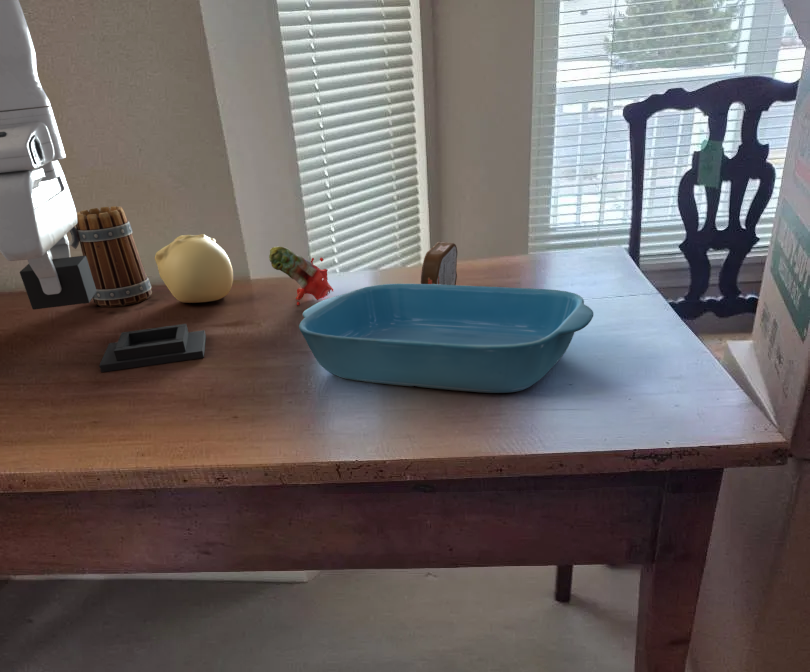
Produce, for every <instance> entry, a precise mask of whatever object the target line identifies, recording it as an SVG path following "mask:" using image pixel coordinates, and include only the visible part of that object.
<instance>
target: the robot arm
mask: <svg viewBox="0 0 810 672" xmlns="http://www.w3.org/2000/svg"><path fill="white" fill-rule="evenodd" d="M37 68H38V67H37V54H36V50H35V45H34V42H33V39H32V36H31V33H30V29H29V26H28V23H27V20H26V17H25V14H24V10H23V8H22V5H21V3H20V0H0V254H1V255H2V256H3V258H5V259H6V261H8V262H17V261H26V260H27V262H28V264H29V265H30V266H31V268H32V269H33V271H34V272H35V274H36V275H37V277H38V278H39V281H40V284H41V286H42V289H43V292H44V293H45V294H47V295H51V294H58V293H60V292H61V291H62V289H63V285H62V282H61V278H60V275H59V273H57V272H56V269H55V267H54V264H53V262H52V259H59V258H67V257H72V256H71V249H70V247H71V246H70V245H69V243H70V241H69V238H68V235H67V234H68V233H70V230H71V229H72V228H73V227H76V224H77V223H78V220H77V213H76V212H77V209H76V206H75V202H74V200H73V197H72V194H71V191H70V187H69V184H68V182H67V179H66V176H65V173H64V171H63V168H62V165H61V163H60V161H61V160H64V159H66V158H67V155H66V152H65V151H66V150H65V148H64V144H63V142H62V137H61V135H60V132H59V131H60V130H59V128H58V124H57V121H56V118H55V115H54V111H53V110H54V109H53V107H52V104H51V101H50V98H49V97H48V95H47V94H46V92H45V90H44V88H43V86H42V84H41V81H40V78H39V75H38V69H37Z"/></svg>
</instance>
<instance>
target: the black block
mask: <svg viewBox="0 0 810 672" xmlns="http://www.w3.org/2000/svg"><path fill="white" fill-rule="evenodd" d="M52 262H53V264H54V267H55V269H56V272H57V273H59V275H60V278H61V282H62V285H63V289H62V291H61V292H60V293H58V294H51V295H47V294H45V293H44V292H43V289H42V286H41V284H40V281H39V278H38V277H37V275H36V274H35V272H34V271H33V269H32V268H31V266H30V265H29V263H28V264H26V266H24V267H23V268H22V269H21V270H20V271H19V275H20V278H21V281H22V283H23V286H24V289H25V292H26V294H27V297H28V298H27V299H28V300H29V303H30V306H31V309H32V310H33V311H34V310H41V309H50V308H57V307H58V308H59V307H67V306H74V305H82V304H84V303H86V304H89V303H90V302H91V301H92V300H93V296H94V295H95V293H96V292H97V291H96V287H95V284H94V281H93V277H92V274H91V271H90V267H89V264H88V261H87V257H86V256H83V255H78V256H71V257H67V258H59V259H52ZM91 299H92V300H91ZM84 305H85V304H84Z"/></svg>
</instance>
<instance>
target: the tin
mask: <svg viewBox="0 0 810 672" xmlns="http://www.w3.org/2000/svg"><path fill="white" fill-rule="evenodd" d="M457 260H458V247H457V245H456V244H455V243H454V242H447V241H441V240H439V241H438V242H436V243H435V244H434V245H433V246H432V247H431V248H429V250H428V251H426V253H425V255H424V258H423V262H422V267H421V273H420V284H439V285H457V279H458V278H457V277H458V273H457V266H458V265H457V264H458V263H457V262H458V261H457Z"/></svg>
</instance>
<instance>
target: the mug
mask: <svg viewBox="0 0 810 672" xmlns="http://www.w3.org/2000/svg"><path fill="white" fill-rule="evenodd" d="M76 213H77V220H78V223H77V224H76V225H75V226H74V227H73V228H72V229H71V230H70V231H69V233H70V236H71V239H70V241H69V246H70V247H71V248H73V249H75V250H77V248H78V247H79V245H80V248H81V253H82V254H81V255H82V256H86V257H87V261H88V264H89V267H90V271H91V274H92V277H93V281H94V284H95V287H96V291H97V292H96V293H95V295H94V296H93V298H92V299H91V301H92V300H93V301H92V302H93V303H94V304H96V305H97V306H99V307H102V308H117V307H125V306H130V305H134V304H138V303H141V302H143V301H146V300H147V299H149V298H150V297H151V295H152V293H153V291H152V284H151V282H150V279H149V276H148V275H147V273H146V270H145V267H144V265H143V262H142V257H141V255H140V252H139V250H138V247H137V243H136V241H135V238H134V235H133V229H132V225H131V223H130V221H129V220H128V217H127V215H126V212H125V210H124V209H123V206H117V205H113V206H110V207H109V206H101V207H100V208H98V207H93V208H89V210H88V209H83V210H80V211H76ZM86 304H87V303H84V305H86Z"/></svg>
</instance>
